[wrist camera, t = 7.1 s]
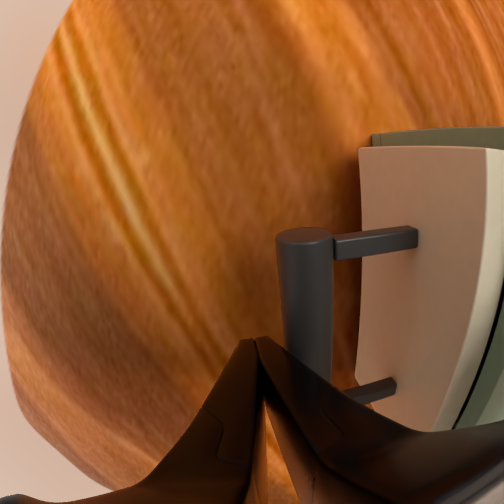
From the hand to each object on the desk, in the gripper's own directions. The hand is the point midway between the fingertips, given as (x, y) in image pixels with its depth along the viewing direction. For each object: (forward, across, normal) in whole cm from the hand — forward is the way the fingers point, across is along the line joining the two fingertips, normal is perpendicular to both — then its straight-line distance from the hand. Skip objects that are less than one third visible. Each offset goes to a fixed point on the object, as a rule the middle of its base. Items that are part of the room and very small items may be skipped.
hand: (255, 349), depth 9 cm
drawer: (+4, -10, 0) cm, 10 cm away
